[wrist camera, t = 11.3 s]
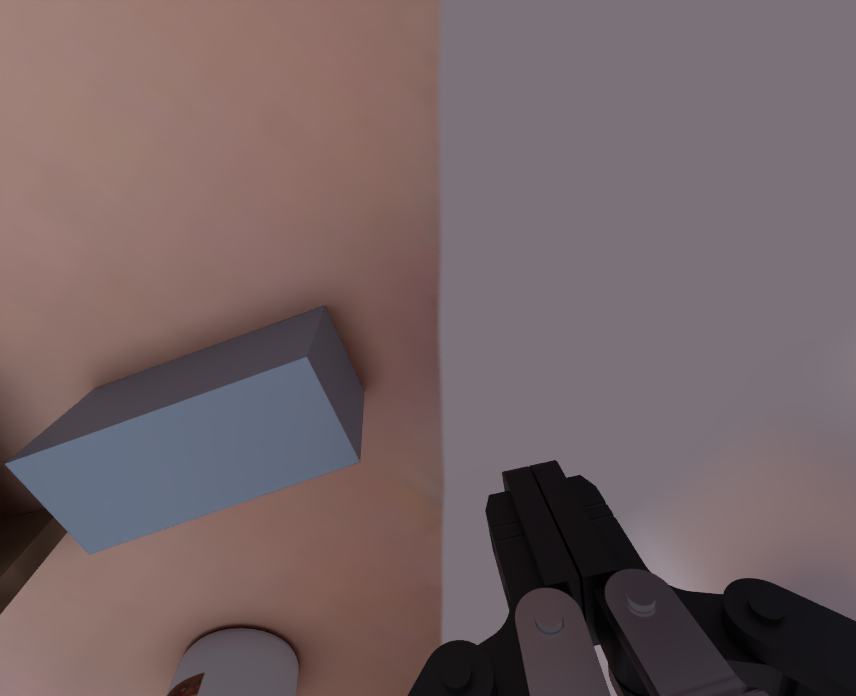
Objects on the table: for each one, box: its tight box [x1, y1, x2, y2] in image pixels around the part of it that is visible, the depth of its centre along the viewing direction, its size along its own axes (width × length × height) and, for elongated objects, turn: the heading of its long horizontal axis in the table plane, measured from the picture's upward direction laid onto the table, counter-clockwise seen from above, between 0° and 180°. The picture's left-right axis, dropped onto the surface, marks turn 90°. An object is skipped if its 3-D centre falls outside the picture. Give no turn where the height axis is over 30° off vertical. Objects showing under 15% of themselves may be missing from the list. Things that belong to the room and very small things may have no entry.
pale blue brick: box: [5, 306, 365, 554], centre depth 20 cm, size 5×12×6 cm, turn 109°
